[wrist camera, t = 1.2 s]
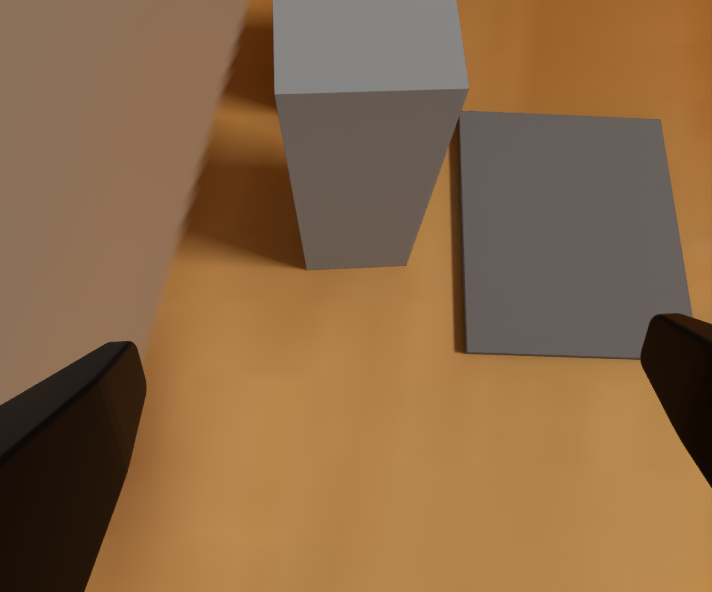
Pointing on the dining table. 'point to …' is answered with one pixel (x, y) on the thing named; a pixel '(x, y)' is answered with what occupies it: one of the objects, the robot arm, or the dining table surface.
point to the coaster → (566, 234)
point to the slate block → (365, 120)
